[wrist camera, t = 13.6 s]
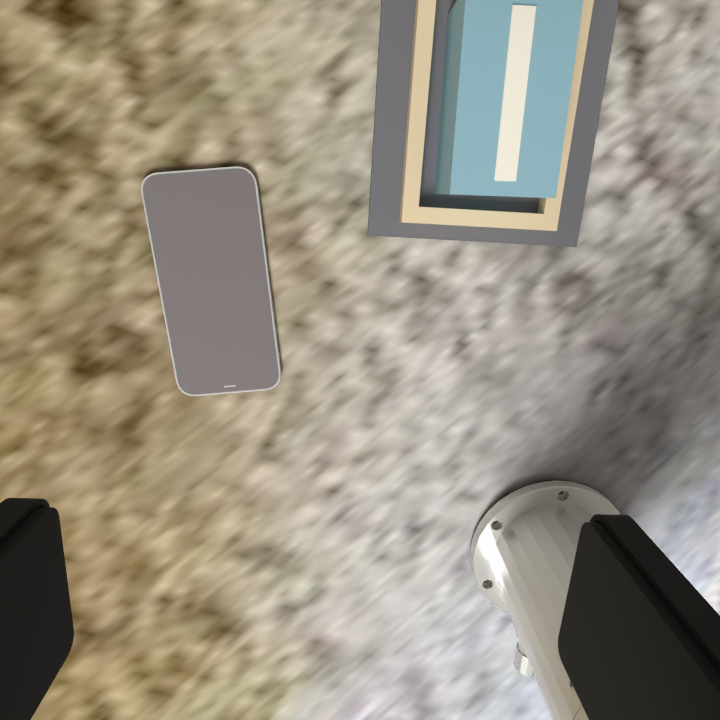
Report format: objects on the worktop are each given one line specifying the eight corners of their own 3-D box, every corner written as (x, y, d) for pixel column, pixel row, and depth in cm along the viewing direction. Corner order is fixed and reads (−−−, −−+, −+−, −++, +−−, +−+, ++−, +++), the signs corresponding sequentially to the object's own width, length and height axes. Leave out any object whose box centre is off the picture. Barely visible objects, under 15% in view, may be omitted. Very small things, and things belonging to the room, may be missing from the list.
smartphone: (255, 164, 34) (283, 388, 38) (257, 165, 34) (284, 384, 39) (137, 174, 33) (178, 397, 38) (142, 174, 34) (182, 393, 39)
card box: (447, 15, 31) (467, -17, 27) (547, 21, 32) (585, -10, 27) (434, 193, 34) (450, 194, 30) (526, 197, 35) (556, 198, 30)
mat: (573, 246, 36) (584, 248, 35) (367, 234, 35) (368, 236, 34) (620, -30, 31) (636, -42, 30) (384, -50, 31) (386, -63, 29)
